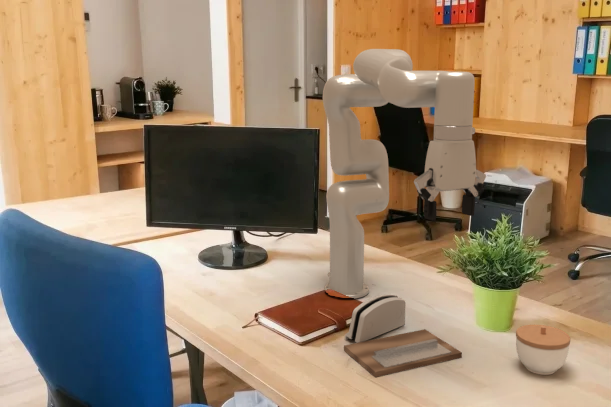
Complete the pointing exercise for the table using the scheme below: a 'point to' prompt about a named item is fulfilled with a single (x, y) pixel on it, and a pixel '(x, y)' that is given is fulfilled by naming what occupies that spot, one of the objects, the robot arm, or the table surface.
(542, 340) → the lidded jar
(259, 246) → the table surface
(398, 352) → the plate
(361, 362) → the mounting board
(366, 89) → the robot arm
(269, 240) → the table surface
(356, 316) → the white arched block
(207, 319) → the table surface
